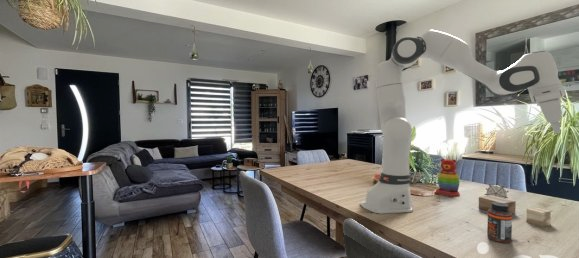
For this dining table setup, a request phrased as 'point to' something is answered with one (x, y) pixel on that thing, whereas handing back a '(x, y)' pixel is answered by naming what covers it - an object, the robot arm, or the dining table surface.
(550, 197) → the dining table surface
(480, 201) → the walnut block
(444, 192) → the stacking bear
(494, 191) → the game die
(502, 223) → the supplement bottle
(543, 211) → the oak block
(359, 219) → the dining table surface
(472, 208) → the base plate
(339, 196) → the dining table surface
